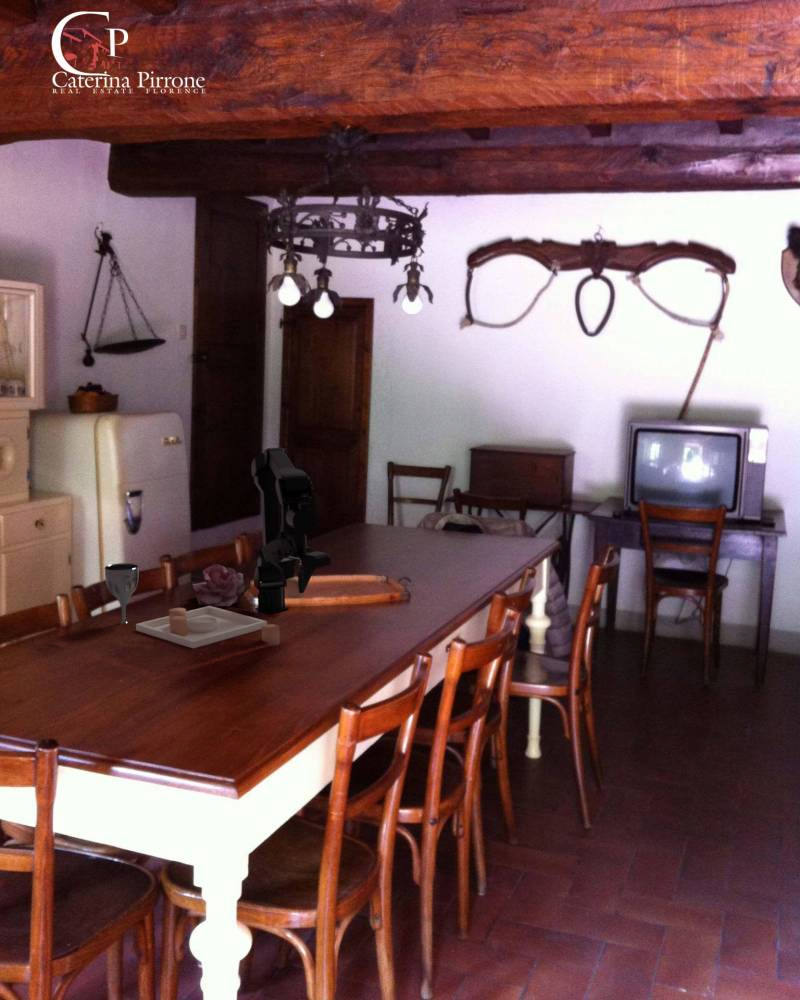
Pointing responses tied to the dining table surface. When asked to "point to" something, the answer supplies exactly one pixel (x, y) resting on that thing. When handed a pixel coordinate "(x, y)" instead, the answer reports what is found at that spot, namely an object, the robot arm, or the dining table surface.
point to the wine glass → (122, 582)
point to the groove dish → (204, 626)
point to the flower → (220, 586)
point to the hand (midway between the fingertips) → (295, 591)
